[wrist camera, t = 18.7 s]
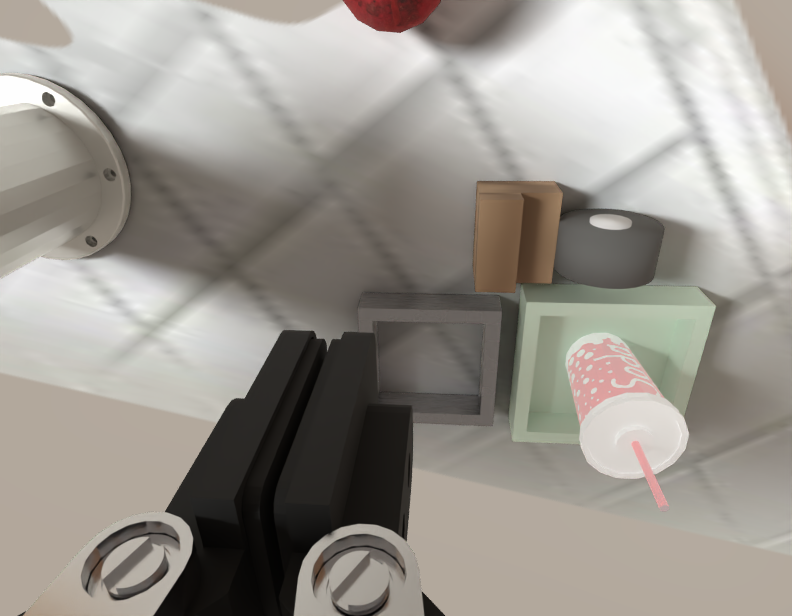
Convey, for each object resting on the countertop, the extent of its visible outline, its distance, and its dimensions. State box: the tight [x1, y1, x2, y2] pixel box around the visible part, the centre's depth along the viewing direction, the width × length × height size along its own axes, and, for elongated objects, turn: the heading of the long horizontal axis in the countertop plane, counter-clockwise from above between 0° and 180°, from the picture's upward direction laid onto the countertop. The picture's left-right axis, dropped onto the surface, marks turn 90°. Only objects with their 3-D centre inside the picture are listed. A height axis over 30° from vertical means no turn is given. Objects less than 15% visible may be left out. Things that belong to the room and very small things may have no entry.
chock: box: [473, 181, 563, 293], centre depth 34 cm, size 5×6×4 cm
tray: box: [508, 283, 716, 444], centre depth 39 cm, size 12×12×3 cm
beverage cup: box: [566, 333, 689, 512], centre depth 33 cm, size 6×6×14 cm
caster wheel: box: [554, 209, 664, 289], centre depth 33 cm, size 6×3×6 cm, turn 91°
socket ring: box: [357, 293, 502, 426], centre depth 40 cm, size 10×10×2 cm
